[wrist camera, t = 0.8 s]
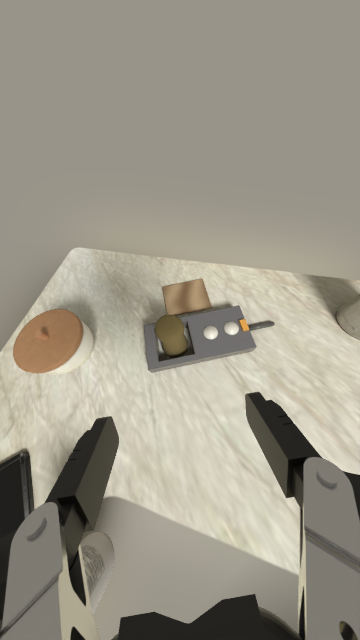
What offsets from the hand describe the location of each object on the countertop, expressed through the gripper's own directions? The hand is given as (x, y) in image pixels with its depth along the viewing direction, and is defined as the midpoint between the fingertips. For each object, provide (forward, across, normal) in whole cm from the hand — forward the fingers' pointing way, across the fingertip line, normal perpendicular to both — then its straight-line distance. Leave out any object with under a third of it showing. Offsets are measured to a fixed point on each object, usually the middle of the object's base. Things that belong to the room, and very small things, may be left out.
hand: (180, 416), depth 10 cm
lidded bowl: (+29, +24, +7) cm, 38 cm away
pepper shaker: (+27, +1, +8) cm, 29 cm away
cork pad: (+36, -4, -1) cm, 36 cm away
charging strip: (+27, -8, +8) cm, 29 cm away
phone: (+11, +32, +26) cm, 43 cm away
